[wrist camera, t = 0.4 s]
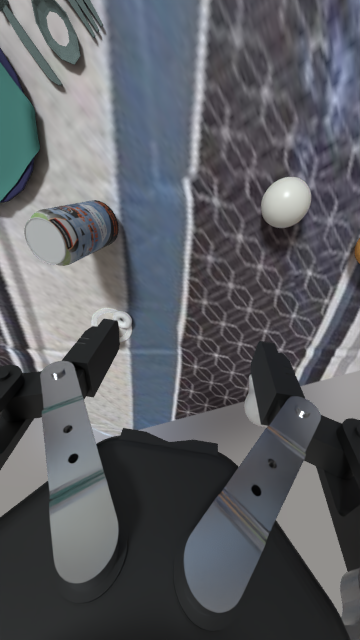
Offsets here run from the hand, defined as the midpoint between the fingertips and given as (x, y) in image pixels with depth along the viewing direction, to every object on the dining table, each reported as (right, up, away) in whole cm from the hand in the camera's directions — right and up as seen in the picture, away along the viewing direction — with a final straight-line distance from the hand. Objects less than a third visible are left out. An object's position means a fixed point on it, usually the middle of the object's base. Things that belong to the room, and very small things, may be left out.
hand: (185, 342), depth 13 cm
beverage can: (-13, +16, +21) cm, 29 cm away
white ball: (+12, +15, +15) cm, 25 cm away
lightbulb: (+15, -10, +34) cm, 38 cm away
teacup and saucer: (-11, -1, +32) cm, 34 cm away
